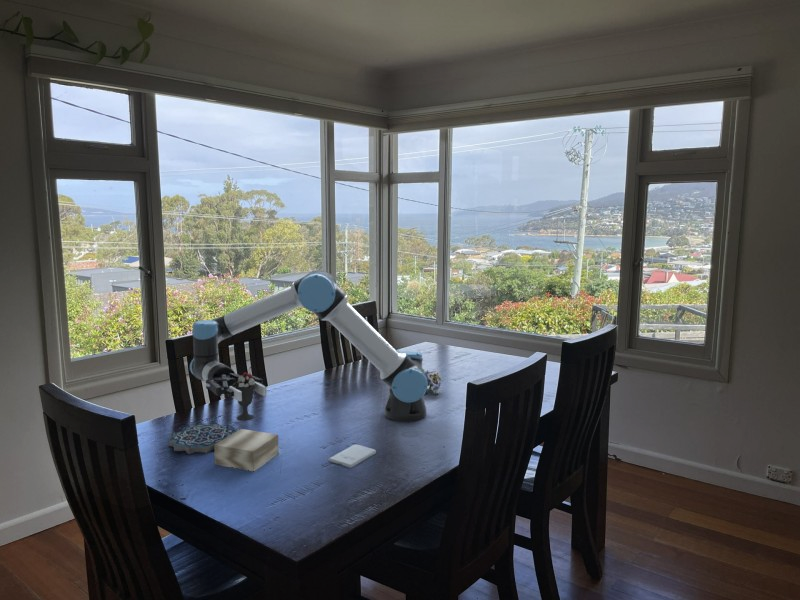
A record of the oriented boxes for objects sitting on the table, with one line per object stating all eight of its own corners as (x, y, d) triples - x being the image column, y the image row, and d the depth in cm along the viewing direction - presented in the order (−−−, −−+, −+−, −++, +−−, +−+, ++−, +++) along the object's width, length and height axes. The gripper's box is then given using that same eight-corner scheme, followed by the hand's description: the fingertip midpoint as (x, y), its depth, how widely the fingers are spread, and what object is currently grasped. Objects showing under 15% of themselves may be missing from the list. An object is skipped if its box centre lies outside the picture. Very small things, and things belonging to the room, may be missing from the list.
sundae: (261, 415, 170) (261, 366, 168) (248, 423, 164) (247, 371, 162) (242, 412, 172) (241, 363, 170) (228, 419, 166) (227, 369, 164)
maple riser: (278, 453, 174) (278, 434, 173) (254, 471, 162) (253, 451, 161) (241, 447, 178) (241, 428, 177) (215, 464, 166) (214, 444, 165)
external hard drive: (376, 454, 175) (350, 469, 165) (354, 448, 179) (328, 462, 169) (376, 449, 175) (350, 464, 164) (354, 443, 179) (328, 457, 169)
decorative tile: (232, 452, 175) (232, 445, 175) (163, 456, 172) (163, 449, 172) (239, 428, 195) (239, 421, 194) (177, 431, 191) (176, 424, 191)
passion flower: (435, 407, 232) (438, 389, 224) (409, 400, 234) (411, 382, 226) (442, 385, 240) (444, 367, 232) (416, 379, 242) (418, 361, 233)
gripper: (248, 381, 187) (284, 399, 170) (188, 393, 174) (219, 414, 157) (247, 359, 186) (283, 375, 169) (186, 369, 173) (218, 387, 156)
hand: (252, 393), depth 163 cm, fingers closed on sundae, 7 cm apart
